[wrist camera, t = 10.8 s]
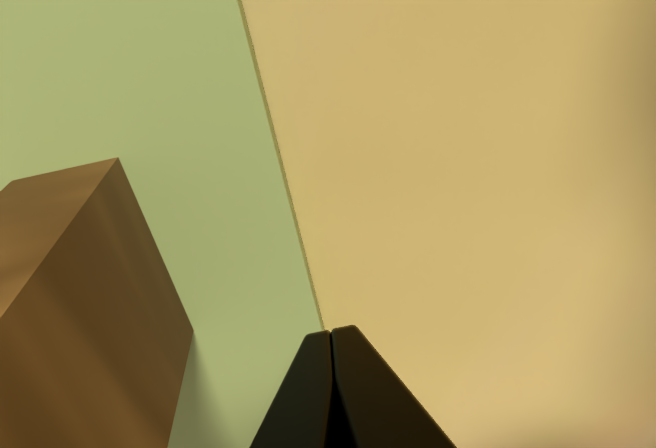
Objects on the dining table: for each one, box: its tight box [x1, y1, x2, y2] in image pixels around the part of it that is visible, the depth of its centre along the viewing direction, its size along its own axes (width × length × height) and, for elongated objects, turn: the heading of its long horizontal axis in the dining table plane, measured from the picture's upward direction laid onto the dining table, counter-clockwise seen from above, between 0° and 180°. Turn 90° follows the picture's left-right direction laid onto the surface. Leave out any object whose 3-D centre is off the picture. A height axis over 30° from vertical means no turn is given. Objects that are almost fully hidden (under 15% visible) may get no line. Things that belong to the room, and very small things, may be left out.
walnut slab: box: [0, 157, 194, 448], centre depth 9 cm, size 2×5×8 cm, turn 12°
